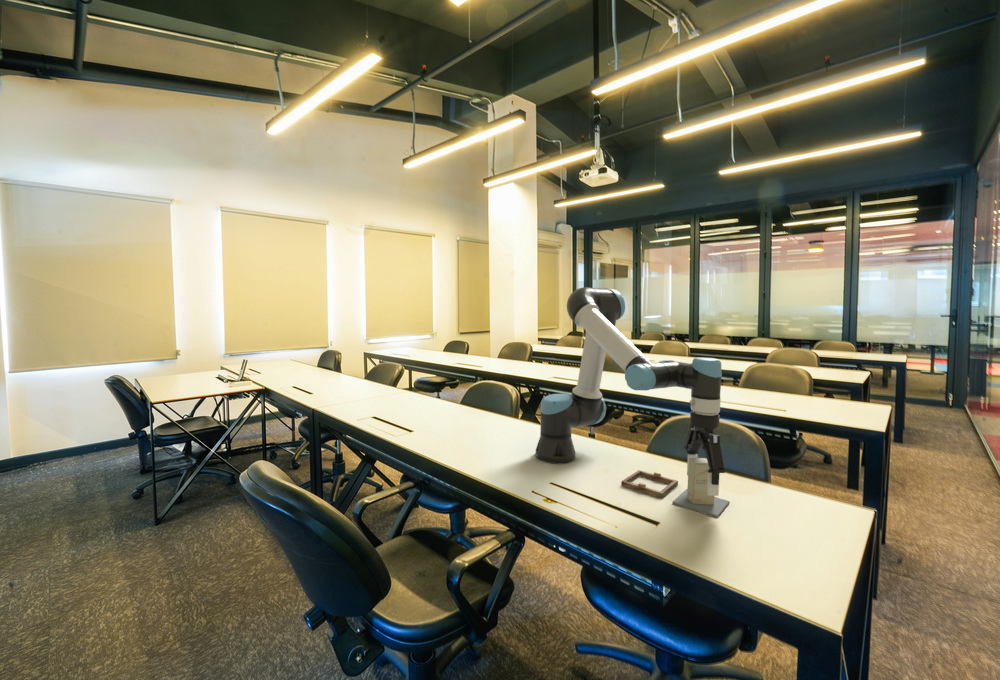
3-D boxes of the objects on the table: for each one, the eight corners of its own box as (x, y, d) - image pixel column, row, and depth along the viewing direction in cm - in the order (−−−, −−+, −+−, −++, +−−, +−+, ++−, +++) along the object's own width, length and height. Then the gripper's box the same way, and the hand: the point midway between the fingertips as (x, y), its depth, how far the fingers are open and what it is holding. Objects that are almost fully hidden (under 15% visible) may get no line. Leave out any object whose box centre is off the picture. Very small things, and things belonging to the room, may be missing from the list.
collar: (621, 485, 133) (621, 478, 133) (638, 474, 142) (639, 467, 142) (662, 498, 124) (662, 490, 124) (677, 485, 134) (678, 478, 134)
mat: (672, 503, 121) (672, 501, 121) (686, 490, 129) (686, 489, 129) (717, 517, 113) (717, 515, 112) (729, 503, 121) (729, 501, 121)
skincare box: (692, 504, 119) (694, 462, 118) (686, 497, 123) (687, 457, 123) (715, 504, 119) (717, 463, 118) (708, 498, 123) (709, 457, 122)
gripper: (675, 402, 132) (672, 468, 133) (711, 423, 107) (708, 504, 108) (699, 403, 132) (696, 468, 133) (741, 424, 107) (737, 504, 108)
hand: (701, 484), depth 121 cm, fingers open, 13 cm apart
